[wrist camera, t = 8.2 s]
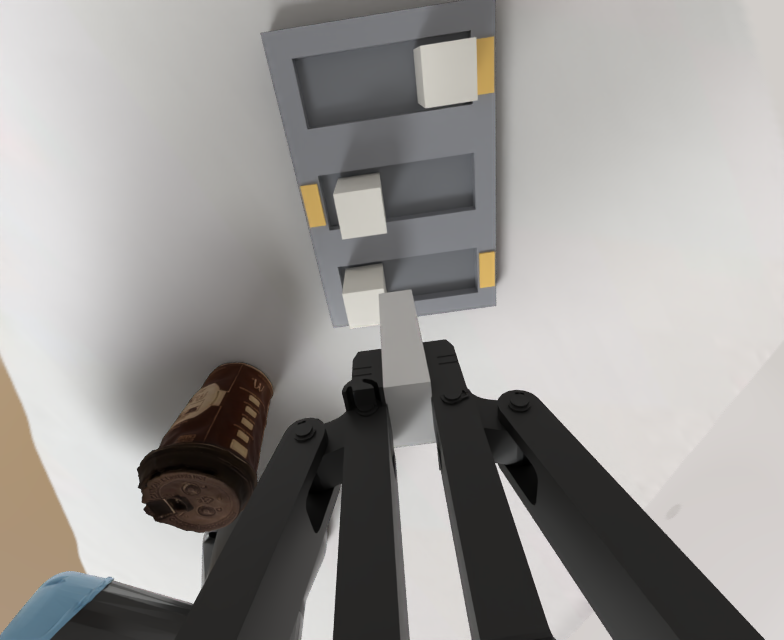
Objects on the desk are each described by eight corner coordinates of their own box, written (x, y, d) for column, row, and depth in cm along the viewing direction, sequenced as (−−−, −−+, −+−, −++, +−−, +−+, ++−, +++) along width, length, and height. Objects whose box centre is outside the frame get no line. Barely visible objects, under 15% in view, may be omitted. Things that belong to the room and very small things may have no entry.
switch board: (335, 316, 37) (333, 329, 35) (267, 35, 26) (259, 32, 24) (490, 294, 37) (496, 306, 35) (487, 0, 26) (496, -6, 24)
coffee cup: (184, 400, 41) (115, 520, 30) (206, 339, 38) (136, 450, 27) (267, 427, 44) (231, 548, 33) (296, 372, 40) (266, 487, 29)
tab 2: (352, 300, 35) (349, 329, 31) (345, 268, 33) (342, 294, 29) (387, 295, 35) (389, 323, 31) (382, 263, 33) (383, 288, 29)
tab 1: (346, 218, 31) (342, 239, 27) (338, 178, 30) (332, 194, 26) (385, 213, 31) (387, 233, 27) (379, 172, 30) (380, 187, 26)
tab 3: (417, 103, 27) (425, 108, 24) (413, 49, 26) (420, 45, 22) (462, 96, 27) (477, 100, 23) (460, 42, 26) (476, 36, 22)
